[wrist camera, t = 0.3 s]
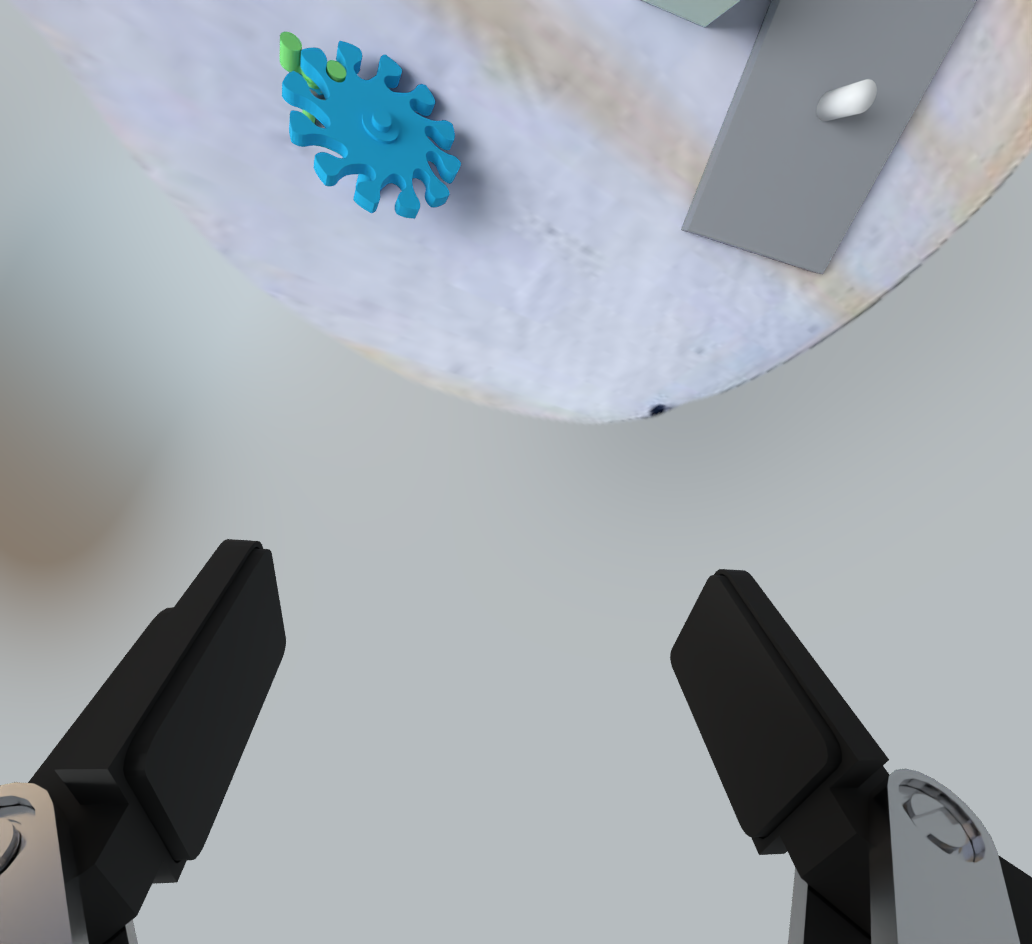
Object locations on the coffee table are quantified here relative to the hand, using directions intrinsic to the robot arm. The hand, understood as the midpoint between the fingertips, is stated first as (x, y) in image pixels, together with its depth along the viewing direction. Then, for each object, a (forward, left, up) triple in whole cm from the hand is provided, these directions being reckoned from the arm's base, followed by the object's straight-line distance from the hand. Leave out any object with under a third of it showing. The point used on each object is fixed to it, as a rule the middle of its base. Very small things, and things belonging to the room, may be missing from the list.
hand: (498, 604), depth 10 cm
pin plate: (-18, +19, -30) cm, 40 cm away
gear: (-9, -9, -30) cm, 33 cm away
